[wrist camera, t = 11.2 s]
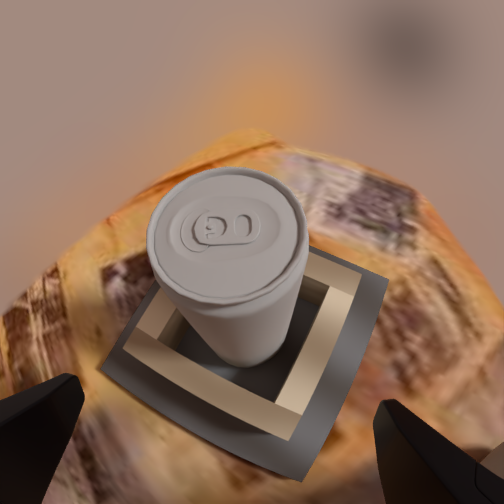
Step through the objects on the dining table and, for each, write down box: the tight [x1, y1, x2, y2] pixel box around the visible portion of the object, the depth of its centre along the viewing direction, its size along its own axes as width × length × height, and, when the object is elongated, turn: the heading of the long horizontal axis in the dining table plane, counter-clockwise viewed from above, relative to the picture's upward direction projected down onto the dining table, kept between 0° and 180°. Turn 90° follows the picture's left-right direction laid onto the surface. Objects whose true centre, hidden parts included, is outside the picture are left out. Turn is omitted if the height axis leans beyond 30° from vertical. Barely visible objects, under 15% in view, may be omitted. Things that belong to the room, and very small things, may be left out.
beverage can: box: [146, 167, 309, 368], centre depth 13 cm, size 5×5×12 cm
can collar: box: [101, 245, 389, 482], centre depth 18 cm, size 15×15×4 cm
